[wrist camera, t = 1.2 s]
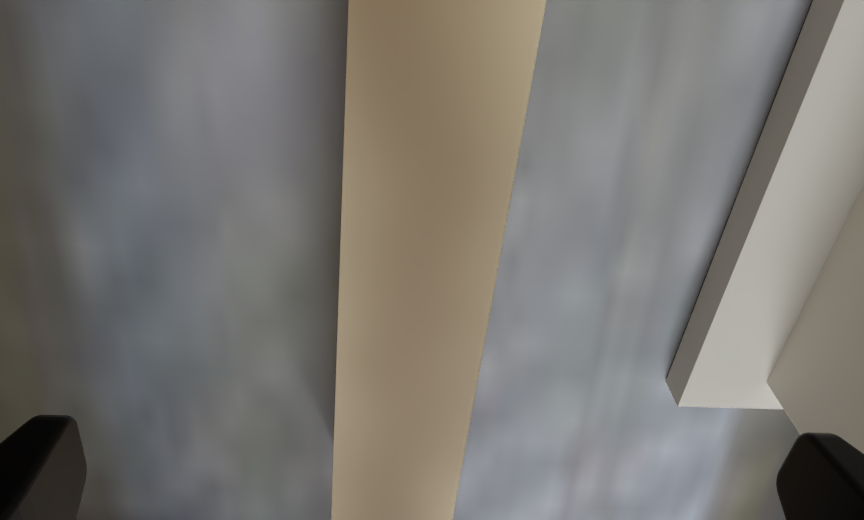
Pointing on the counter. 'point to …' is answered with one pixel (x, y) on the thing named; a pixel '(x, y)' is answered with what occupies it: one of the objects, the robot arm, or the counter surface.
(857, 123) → the ridge stand
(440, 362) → the birch bar
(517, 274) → the counter surface
